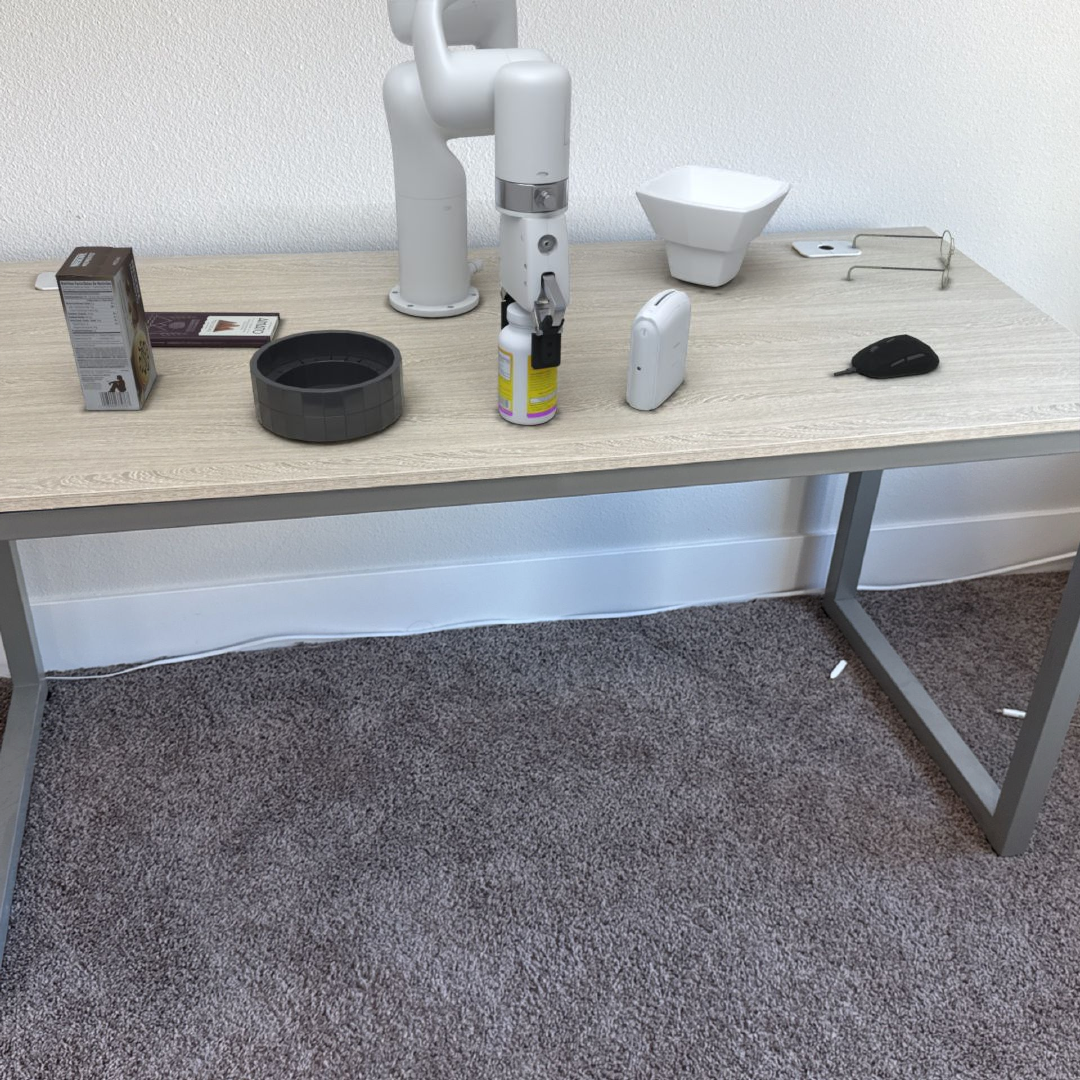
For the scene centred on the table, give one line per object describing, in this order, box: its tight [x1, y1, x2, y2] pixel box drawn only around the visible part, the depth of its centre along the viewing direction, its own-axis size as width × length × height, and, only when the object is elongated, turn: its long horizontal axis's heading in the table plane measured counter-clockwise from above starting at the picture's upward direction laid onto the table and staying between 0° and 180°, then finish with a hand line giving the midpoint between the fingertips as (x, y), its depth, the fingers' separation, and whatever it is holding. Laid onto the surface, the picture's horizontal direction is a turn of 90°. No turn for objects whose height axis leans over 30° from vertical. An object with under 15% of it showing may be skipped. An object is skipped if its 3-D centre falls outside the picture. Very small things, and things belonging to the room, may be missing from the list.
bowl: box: [635, 163, 792, 288], centre depth 159 cm, size 19×19×14 cm
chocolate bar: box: [145, 311, 281, 348], centre depth 142 cm, size 9×1×18 cm
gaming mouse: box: [833, 333, 941, 379], centre depth 137 cm, size 6×15×4 cm, turn 110°
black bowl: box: [249, 329, 405, 443], centre depth 123 cm, size 17×17×6 cm
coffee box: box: [54, 245, 158, 411], centre depth 123 cm, size 9×6×16 cm
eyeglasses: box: [846, 229, 955, 288], centre depth 168 cm, size 16×15×5 cm
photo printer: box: [625, 288, 692, 412], centre depth 127 cm, size 10×4×12 cm, turn 151°
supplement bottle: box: [497, 301, 558, 426], centre depth 122 cm, size 7×7×13 cm
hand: (529, 350), depth 121 cm, fingers open, 9 cm apart
